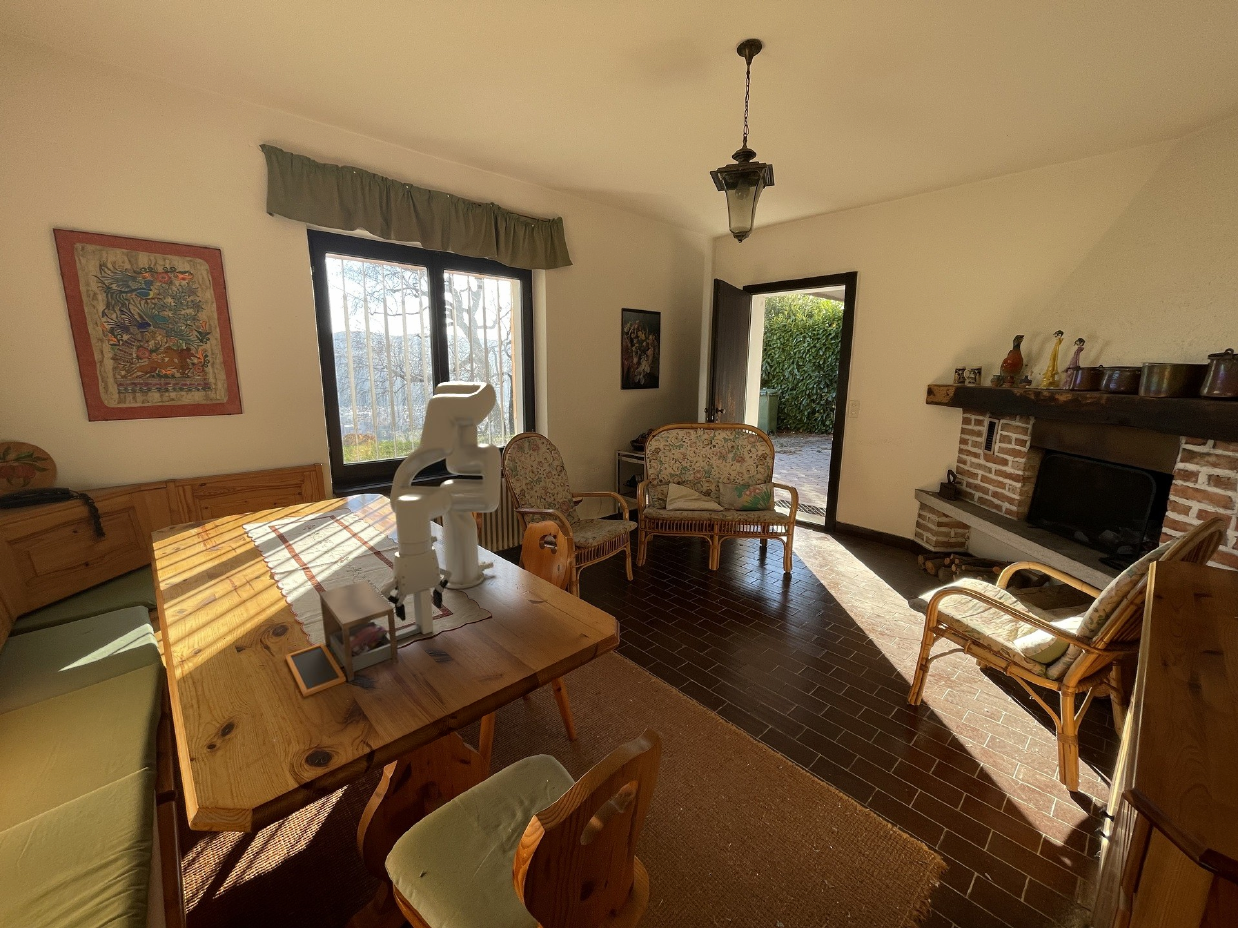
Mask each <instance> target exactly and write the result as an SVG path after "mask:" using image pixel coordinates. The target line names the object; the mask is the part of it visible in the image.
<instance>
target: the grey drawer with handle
mask: <svg viewBox="0 0 1238 928" xmlns="http://www.w3.org/2000/svg"><path fill="white" fill-rule="evenodd" d="M412 596H413V609H414V619H415V620H414V622H415V624H414V625H411V626H409V627H405V628H402V629H399V630H397V631H396V630H395V632H396V642H398V640H402V639H404V638H407V637H410V636H413V635H416V634H419V633H422V634H423V635H427V634H428V633H431V632H434V621H433V620H434V619H433V608H432V607H433V605H432V603H433V602H432V590H431V588H430V589H426V590H423V591H420V592H417V593H414V594H412ZM377 624H378V625H380V626H382V624H381V623H380V622H379V621H378V620H377V619H374V620H371V621H368V622H365V623H362V624H359V625H356V626H353V627H350V628H349V636H350V637H351V636H354V635H355V634H357V633H358V632H359V631H360V630H362V629H364V628H369V627H374V626H375V625H377ZM329 635H330V644H331V645H330V647H331V649H332V650H333V652H334V653H335V655H336V656H337V658H338V659H339V661H340V662H341V664H342V665H343V667H344V669H346V660H345V651H344V649H342V648H341V646H342V645H343V644H344V642H343V633H342V630H341V631H338V632H335V633H331V634H329ZM380 641H381V642H382V643H383V645H382V646H380V647H377V648H375V649H372V650H371V649H370V650H369V651H366V652H364V653H363V652H362V653H361V654H360V655H357V656H355V655H354V656H352V664H353V673H355V672H357V671H359V670H362V669H364V668H367V667H368V668H369V667H370V666H373V665H377V664H378V663H381V662H383V661H385V660H389V659H392V658H391V647H390V636H389V631H387V633H385V634H384V638H383V639H381V640H380ZM398 650H399V649H398V648H397V655H399V652H398ZM346 671H347V669H346Z"/></svg>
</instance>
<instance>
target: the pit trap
mask: <svg viewBox="0 0 1238 928" xmlns="http://www.w3.org/2000/svg"><path fill="white" fill-rule="evenodd" d="M284 656H285V661H286V662H287V665H288V667H289V669H290V670H291V673H292V675H293V677H294V679H295V681H296V683H297V685H298V688H299V690H300V691H301V693H302V696H303V698H305V697H308V696H311V695H313V694H316V693H318V692H321V691H323V690H326V689H328V688H331V687H335V686H337V685H339V684H341V683H344V682H346V681H347V679H346V678H347V676H345V674H344V673H343V671H342V669H341V668H340V666H339V665H338V663H337V661H336V660H335V658H334V657H333V655H332V654H331V652H330V651H329V649H328V646H326V644H325V642H322V643H317V644H315V645H312V646H308V647H306V648H303V649H300V650H296V651H294V652H291V653H288V654H286V655H284Z"/></svg>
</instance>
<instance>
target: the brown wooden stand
mask: <svg viewBox="0 0 1238 928" xmlns="http://www.w3.org/2000/svg"><path fill="white" fill-rule="evenodd" d="M319 601H320V602H319V603H320V611H321V616H322V617H321V619H322V625H323V634H324V644H325V646H326V647H330V646H331V644H330V635H329V634H331V633H335V632H338V631H341V630H342V633H343V642H344V643H343V644H344V651H345V660H346V669H347V670H346V678H347V680H348V682H351V681H354V680H355V675H354V674H355V672H353V664H352V657H353V656H352V655H353V654H351V645H350V636H349V628H350V627H353V626H356V625H359V624H362V623H365V622H368V621H372V620H375V619H376V620H377V619H379V618H383V617H387V622H388V623H387V624H388V634H389V636H390V647H391V658H390V659H391V663H392V664H393V665H395V664H397V663H399V656H398V655H399V654H398V655H397V649H398V643H397V641H396V625H395V613H394V612H395V611H394V607H393V606H392V605H391V604H390V603H389V602H388V600H386V598H385V597H384V596H382V594H381V593H379V592H378V591H377V590H376V589H375V588H374V587H373V586H372V585H371V584H370V583H369V582H368V581H367V580H361V581H359V582H354V583H351V584H348V585H344V586H340V587H335V588H333V589H329V590H326V591H321V592H319Z"/></svg>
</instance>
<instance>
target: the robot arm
mask: <svg viewBox="0 0 1238 928" xmlns="http://www.w3.org/2000/svg"><path fill="white" fill-rule="evenodd" d="M496 403H497V394H496V389H495V388H494V386H493V385H492V384H490V383H488V382H483V381H482V382H480V381H479V382H478V381H477V382H475V381H448V382H447V381H446V382H441V383H439V384H438V385H437V386H436V387H435V389H434V396H432V397H431V398H430V399H429V401H428V402H427V406H426V411H425V417H424V422H423V426H422V432H421V436H420V440H419V445H418V446H417V448H416V449H414V450H413V451H412V452H411V453H410V454H408V456H407V457H405V459H404V460H403V461H402V462H401V464H400V465H399V466H398V468H397V469H396V471H395V474H394V477H393V481H392V485H391V491H390V495H389V496H390V497H389V498H390V499H389V502H390V503H389V505H390V507H391V510H392V512H393V513H394V515H395V525H396V537H397V549H398V550H397V552H395V553H394V557H393V567H392V580H391V581H390V582H389V583H388V584H387V585H386V586H385V587H384V588H382V590H381V591H380V595H381V596H382V595H383V596H382V597H383V598H384V599H387V601H389V602H390V603H392V604H393V605H394V608H395V616H396V618H399V619H400V620H401V621H402V622H405V621H406V620H407V618H406V606H405V604H404V601H405V600H406V598H407V596H410V595H413V594H414V593H417V592H420V591H423V590H426V589H430V590H431V589H433V590H432V598H433V602H432V603H433V605H434V606H435V607H436V608H437V609H440V610H441V609H442V604H443V600H444V599H443V593H444V591H445V589H446V588H448V589H451V590H452V589H453V590H460V589H468V588H472V587H473V588H474V587H475V586H477V585H479V584H481V583H482V582H483V581H484V579H485V573H484V572H485V570H489V569H492V568H494V563H493V561H488V562H486V561H485V560H483V561H480V562H479V546H478V545H479V544H478V526H477V521H476V519H475V518H474V516H473V515H472V513H492V512H494V511H496V510H497V508H498V506H499V504H500V498H501V495H500V494H501V479H502V478H501V477H502V454H501V451H500V449H499V447H498V446H497V445H495V444H493V443H483V442H482V443H478V429H479V428H478V425H481V423H483V421H485V419H486V418H487V417H488V415H489V414H491V412H492V410H493V409H494V408H495V405H496ZM444 459H445V466H446V469H447V471H448V472H449V473H451V474H453V475H460V476H461V475H462V476H482V479H470V478H469V479H463V478H456V479H455V478H453V479H448V480H445V481H443V482H442V483H441V484H440V486H425V485H424V486H422V485H421V486H420V485H419V486H418V485H411V484H412V482H413V479H415V476H416V475H417V474H418V473H419V472H420V471H422V470H423V469H424V468H426V467H428V466H430V465H432V464H435V463H437V462H440V461H442V460H444ZM441 517H442V524H443V525H442V526H443V527H442V528H443V541H444V558H445V569H444V568H441V567H440V563H439V560H438V559H439V558H438V555H437V551H436V548H435V546H434V543H435V542H438V537H437V536H432V525H431V520H434V519H437V518H441ZM393 590H395V591H396V593H395V594H394V595H393V594H391V592H392V591H393Z"/></svg>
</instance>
